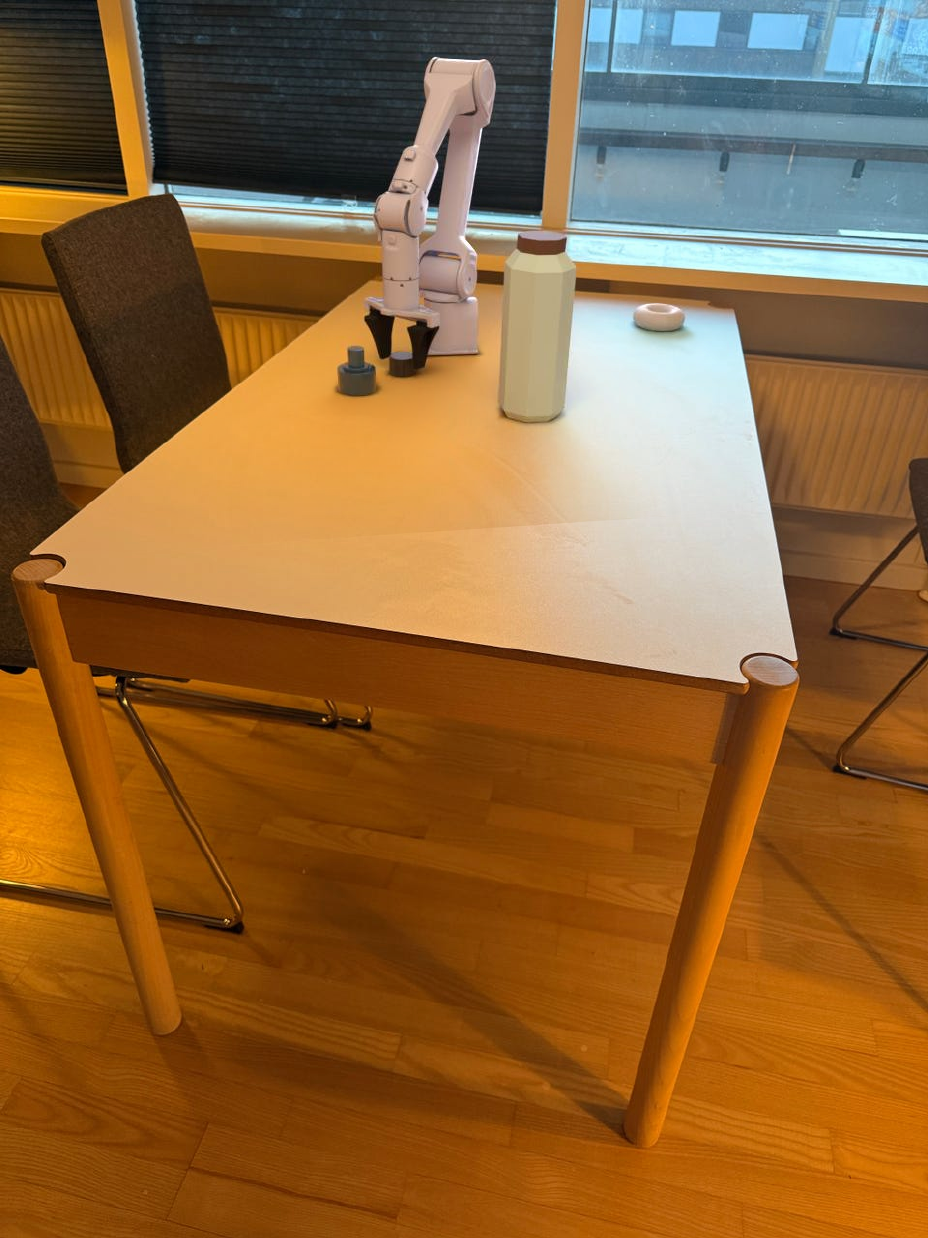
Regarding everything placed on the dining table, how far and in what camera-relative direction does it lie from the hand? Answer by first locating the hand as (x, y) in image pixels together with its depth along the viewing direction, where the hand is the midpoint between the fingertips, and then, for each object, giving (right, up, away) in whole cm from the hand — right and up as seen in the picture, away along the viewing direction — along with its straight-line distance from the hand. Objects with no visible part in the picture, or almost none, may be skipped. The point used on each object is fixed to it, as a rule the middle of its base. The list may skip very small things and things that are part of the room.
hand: (402, 362), depth 147 cm
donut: (+48, +15, +28) cm, 57 cm away
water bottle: (+20, -11, -12) cm, 26 cm away
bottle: (-7, -6, -6) cm, 11 cm away
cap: (0, -1, +1) cm, 2 cm away
